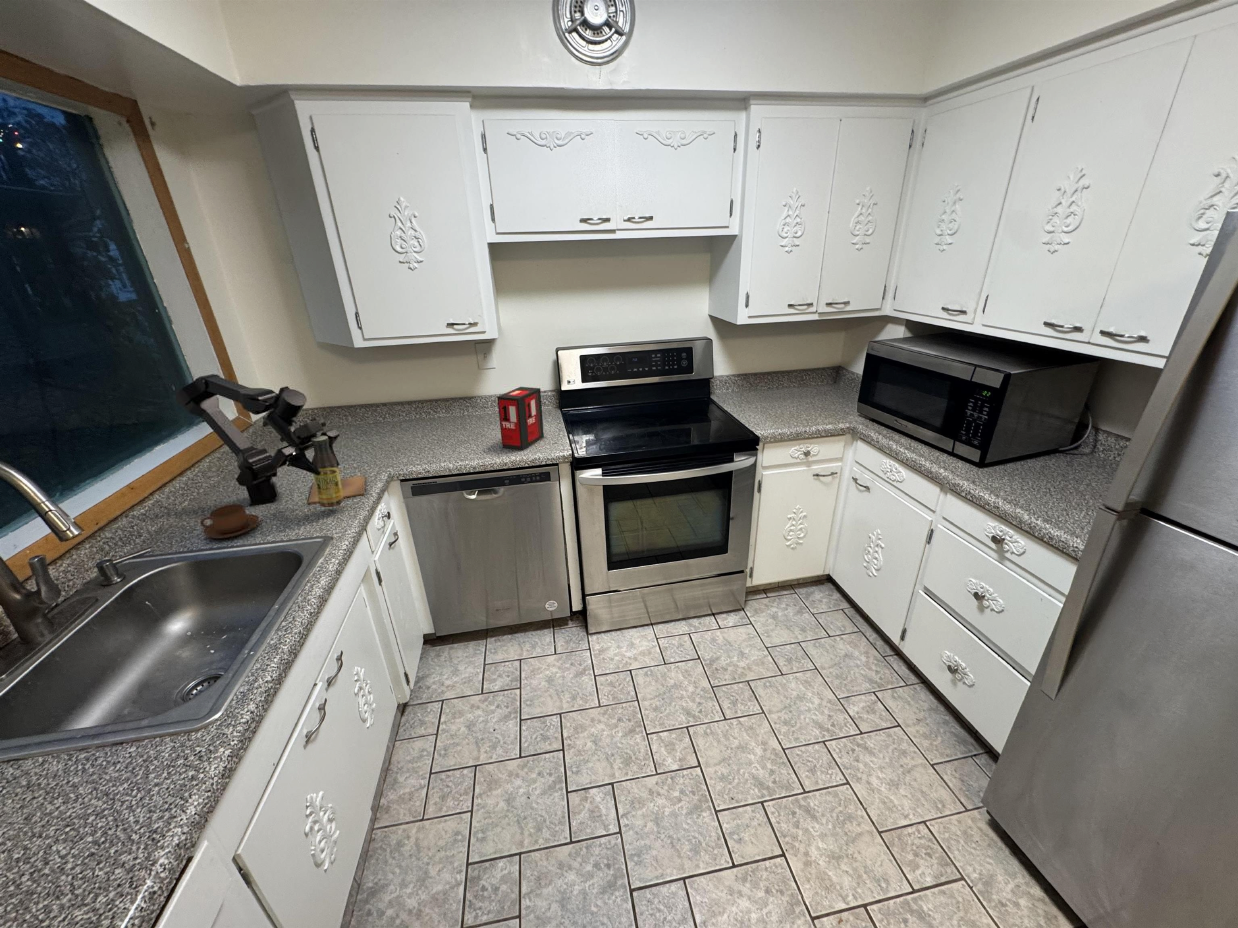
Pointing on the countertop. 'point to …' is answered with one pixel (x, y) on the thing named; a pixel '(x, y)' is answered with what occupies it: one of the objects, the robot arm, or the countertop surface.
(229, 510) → the cup and saucer
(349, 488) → the cork mat
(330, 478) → the sauce bottle
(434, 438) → the countertop surface
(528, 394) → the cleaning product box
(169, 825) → the countertop surface
